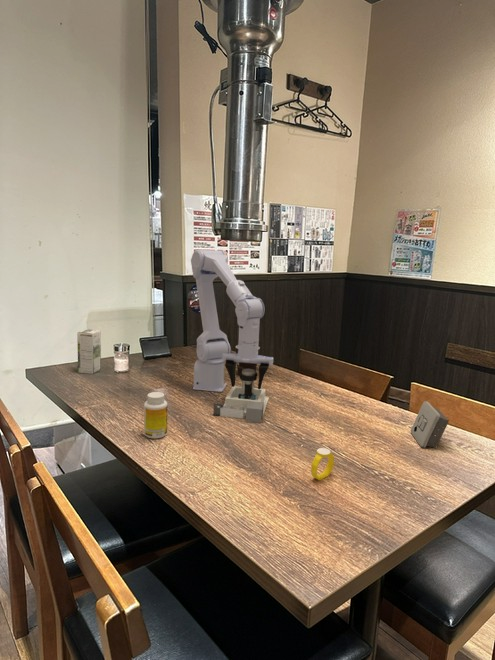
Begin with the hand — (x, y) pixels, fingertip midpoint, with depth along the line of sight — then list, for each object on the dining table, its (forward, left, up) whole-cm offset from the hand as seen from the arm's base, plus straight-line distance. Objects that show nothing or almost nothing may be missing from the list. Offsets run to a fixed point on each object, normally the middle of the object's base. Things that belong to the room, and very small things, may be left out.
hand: (246, 386), depth 126 cm
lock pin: (-3, -9, -6) cm, 11 cm away
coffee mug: (-5, +31, -6) cm, 32 cm away
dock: (0, -2, -6) cm, 6 cm away
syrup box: (-58, +16, -6) cm, 61 cm away
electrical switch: (+48, -11, -6) cm, 49 cm away
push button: (+1, +1, -5) cm, 6 cm away
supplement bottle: (-18, -25, -6) cm, 31 cm away
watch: (+22, -35, -6) cm, 41 cm away
